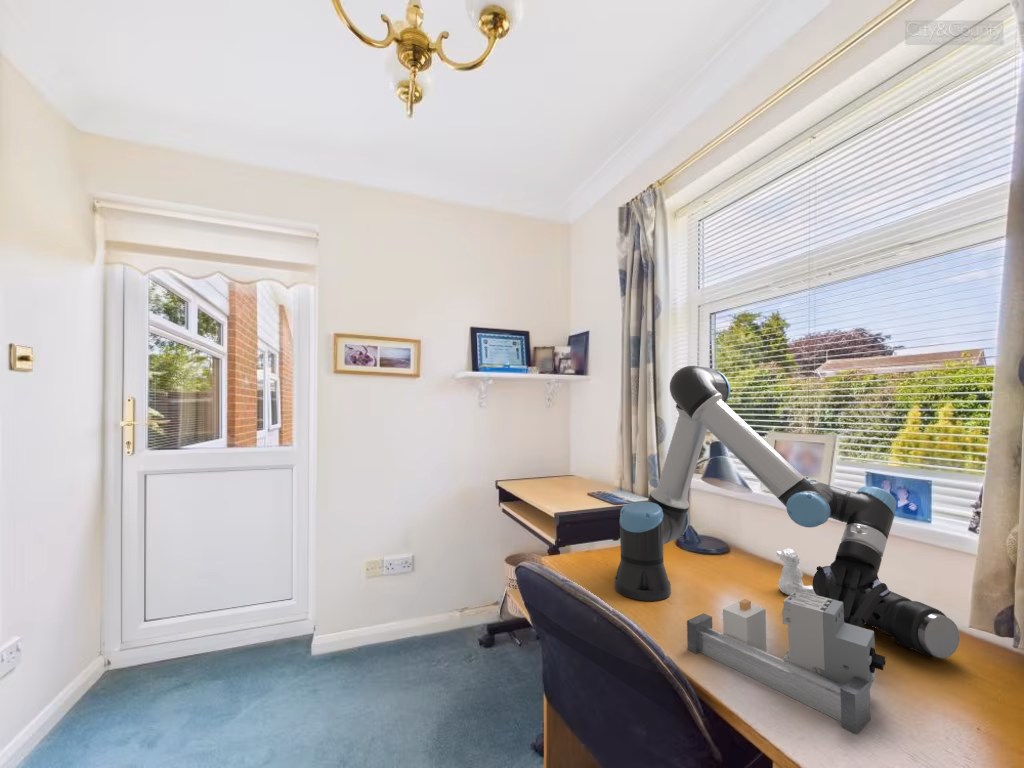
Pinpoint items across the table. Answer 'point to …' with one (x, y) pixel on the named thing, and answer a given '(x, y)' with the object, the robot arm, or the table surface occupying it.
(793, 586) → the white creature statuette
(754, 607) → the mounted module
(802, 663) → the circuit breaker
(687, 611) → the table surface
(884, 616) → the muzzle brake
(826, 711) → the din rail
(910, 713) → the table surface
